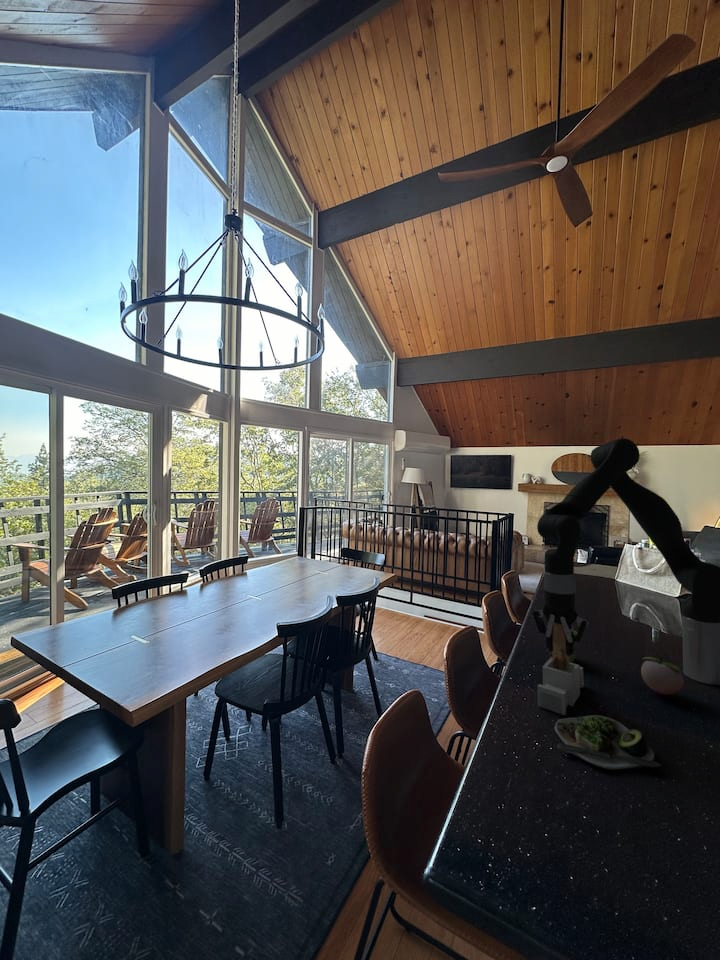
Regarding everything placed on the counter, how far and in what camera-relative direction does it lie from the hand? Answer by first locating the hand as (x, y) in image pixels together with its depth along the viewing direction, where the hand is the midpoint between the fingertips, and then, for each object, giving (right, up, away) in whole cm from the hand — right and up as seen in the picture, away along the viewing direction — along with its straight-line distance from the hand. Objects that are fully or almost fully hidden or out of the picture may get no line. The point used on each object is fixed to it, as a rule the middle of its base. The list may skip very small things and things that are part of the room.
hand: (560, 652), depth 108 cm
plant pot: (+11, -11, +21) cm, 26 cm away
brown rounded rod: (0, -4, 0) cm, 4 cm away
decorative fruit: (+27, -11, -1) cm, 29 cm away
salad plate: (0, -12, -20) cm, 23 cm away
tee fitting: (0, -12, 0) cm, 12 cm away
